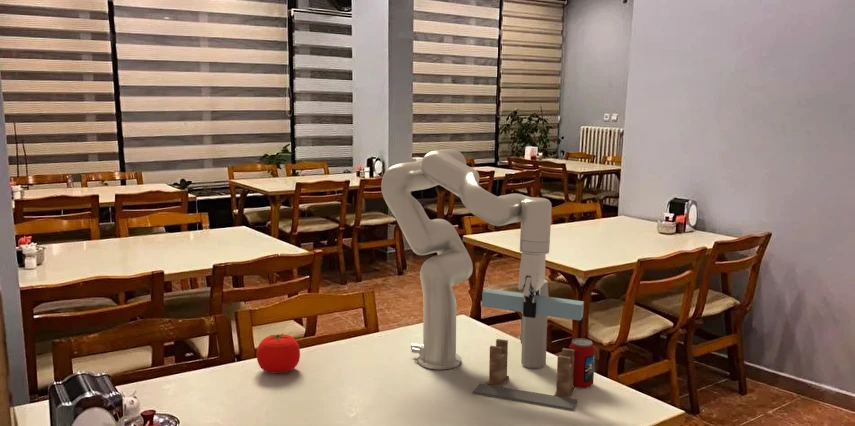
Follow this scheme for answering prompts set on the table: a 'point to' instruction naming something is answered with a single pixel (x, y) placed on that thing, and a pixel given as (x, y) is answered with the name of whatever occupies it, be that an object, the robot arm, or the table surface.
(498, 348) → the post
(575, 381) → the beverage can
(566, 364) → the post
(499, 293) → the rail
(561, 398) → the mat
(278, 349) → the tomato
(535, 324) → the water bottle
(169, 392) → the table surface
